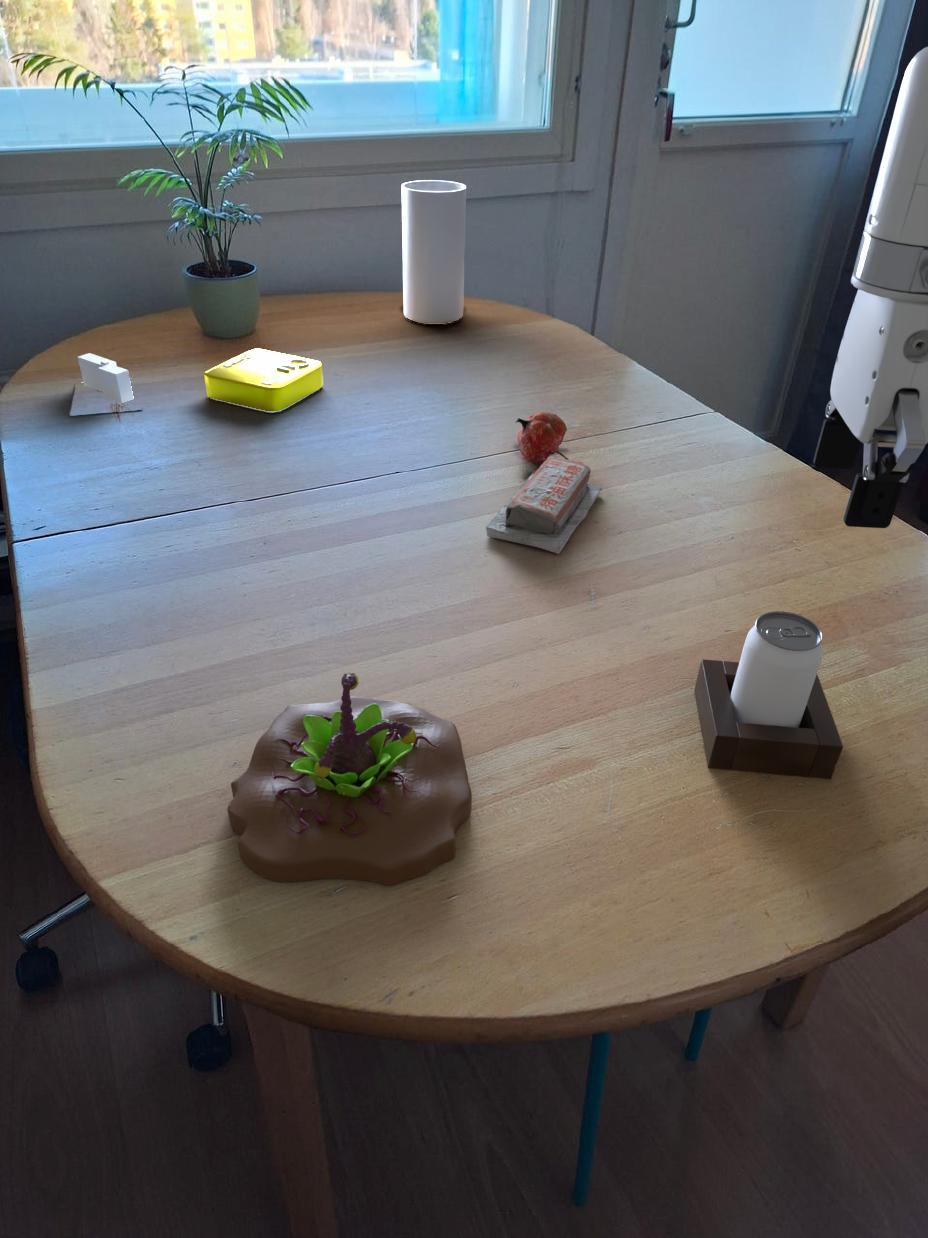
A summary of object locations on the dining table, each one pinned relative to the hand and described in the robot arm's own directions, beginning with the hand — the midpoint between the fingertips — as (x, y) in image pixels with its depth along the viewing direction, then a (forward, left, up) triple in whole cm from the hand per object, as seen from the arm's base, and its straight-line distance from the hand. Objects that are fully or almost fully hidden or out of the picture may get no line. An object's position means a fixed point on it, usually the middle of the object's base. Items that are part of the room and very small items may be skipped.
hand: (848, 494), depth 68 cm
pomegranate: (+24, -55, -25) cm, 65 cm away
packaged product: (+23, -38, -25) cm, 51 cm away
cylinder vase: (+48, -121, -25) cm, 132 cm away
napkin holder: (+96, -68, -25) cm, 120 cm away
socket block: (+2, +1, -25) cm, 25 cm away
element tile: (+71, -74, -25) cm, 105 cm away
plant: (+38, +13, -25) cm, 47 cm away
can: (+2, +1, -25) cm, 25 cm away
